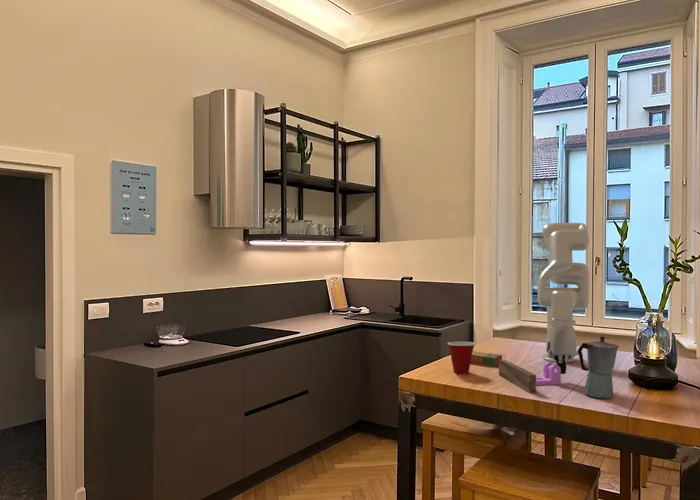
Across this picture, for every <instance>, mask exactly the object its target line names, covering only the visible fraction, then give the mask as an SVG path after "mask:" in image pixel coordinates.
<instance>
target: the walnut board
mask: <svg viewBox="0 0 700 500" xmlns="http://www.w3.org/2000/svg"><path fill="white" fill-rule="evenodd" d="M498 376H499V377H501V378H502V379H505V380H506V381H508V382H510V383H511V384H513V385H515V386H517V387H518V388H520V389H521V390H524V391H525V392H527V393H529V394H533V393H537V385H536V377H537V375H536V374H534V373H533V372H531V371H530V370H529V371H528V370H527V369H525V368H522V367H521V366H519V365H517V364H514V363H513V362H511V361H509V360H508V359H502V360H499V365H498Z"/></svg>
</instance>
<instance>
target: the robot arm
mask: <svg viewBox="0 0 700 500" xmlns="http://www.w3.org/2000/svg"><path fill="white" fill-rule="evenodd" d="M542 236H543V240H544V242H545V245H546V247H547V250H548V265H547V267H545V268H544V270H542V272H541V274H540V275H539V277H538V280H537V301H538V304H539V305H540V306H541V307H542V308H543V307H544V308H546V320H547V321H546V324H547V325H546V327H547V328H546V331H547V332H546V341H545V352H546V354H543V356H542V359H544V360H545V361H547V362H551V363H556V365H558V366H559V367H560V368H561V375H565V374H566V373H567V364H568V363H572V362H574V361H575V357H577V356H579V354H578V350H577V335H576V331H575V327H574V325H576V320H575V319H574V311H583V310H584V311H586V309H587V308H589V307H588V306H589V303H590V302H589V301H590V300H589V299H590V296H589V295H590V275H589V273H590V271H589V268H588V266H587V265H586V263H583V262H573V261H574V260H573V252H574V251H586V250H587V249H588V247H589V243H590V242H589V241H590V240H589V239H590V238H589V232H588V227H587V226H586V224H585V223H583V222H551V223H548V224H545V225H544V226H543V227H542ZM548 280H549V281H550V282H551V284H555V285H574V286H576V287H565V286H563V287H562V286H561V287H560V286H559V287H557V286H555V287H546V283H547V281H548Z"/></svg>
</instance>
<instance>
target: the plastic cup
mask: <svg viewBox="0 0 700 500" xmlns="http://www.w3.org/2000/svg"><path fill="white" fill-rule="evenodd" d="M475 345H476V343H475V342H472V341H450V342H447V346H448V348H449V352H450V357H451V364H452V369H453V373H454V374H459V375H466V374H469V372H470V367H471V365H472V364H471V358H472V352H473V351H474V347H475Z"/></svg>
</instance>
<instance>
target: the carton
mask: <svg viewBox="0 0 700 500" xmlns="http://www.w3.org/2000/svg"><path fill="white" fill-rule="evenodd" d="M499 360H503V355H502V354H498V353H487V352H482V351H476V350H475V351H474V350H473V352H472V358H471V364H470V365H478V366H486V367H491V368H492V367H493V368H496V367H499Z"/></svg>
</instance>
